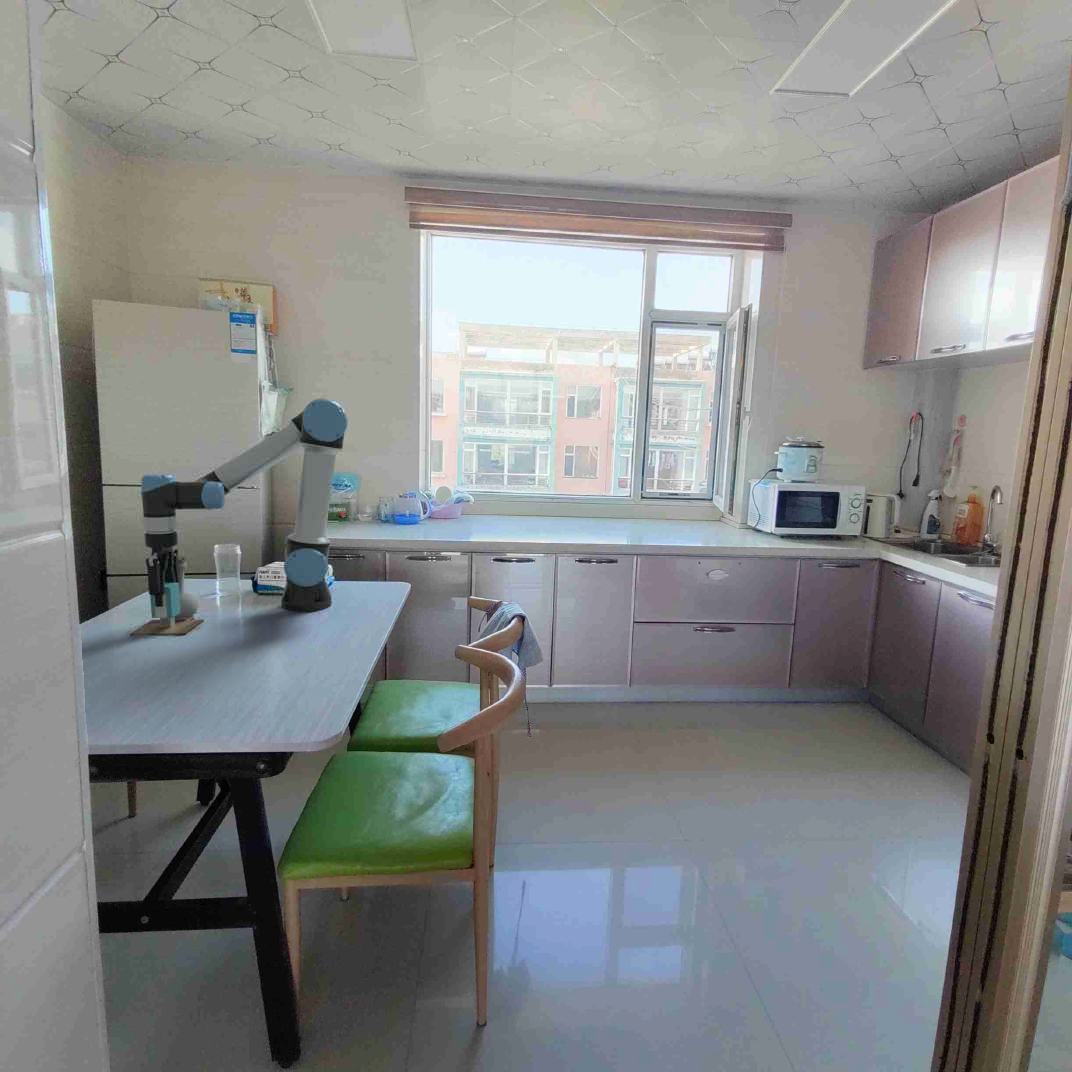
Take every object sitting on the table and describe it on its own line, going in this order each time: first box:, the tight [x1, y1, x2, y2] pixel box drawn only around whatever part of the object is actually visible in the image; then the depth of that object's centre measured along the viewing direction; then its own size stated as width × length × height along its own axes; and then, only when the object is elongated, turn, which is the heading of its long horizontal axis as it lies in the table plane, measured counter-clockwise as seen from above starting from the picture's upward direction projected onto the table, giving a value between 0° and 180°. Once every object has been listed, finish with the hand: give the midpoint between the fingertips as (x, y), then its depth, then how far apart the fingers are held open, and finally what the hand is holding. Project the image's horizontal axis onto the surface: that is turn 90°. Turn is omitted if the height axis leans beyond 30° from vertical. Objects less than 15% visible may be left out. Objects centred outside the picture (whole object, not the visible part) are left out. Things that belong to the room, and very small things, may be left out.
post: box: [159, 616, 175, 628], centre depth 170 cm, size 3×3×9 cm
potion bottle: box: [175, 555, 199, 620], centre depth 178 cm, size 9×9×18 cm
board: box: [129, 618, 205, 637], centre depth 170 cm, size 14×12×1 cm
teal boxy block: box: [149, 583, 181, 619], centre depth 169 cm, size 5×5×9 cm
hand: (166, 614), depth 170 cm, fingers closed on teal boxy block, 5 cm apart
